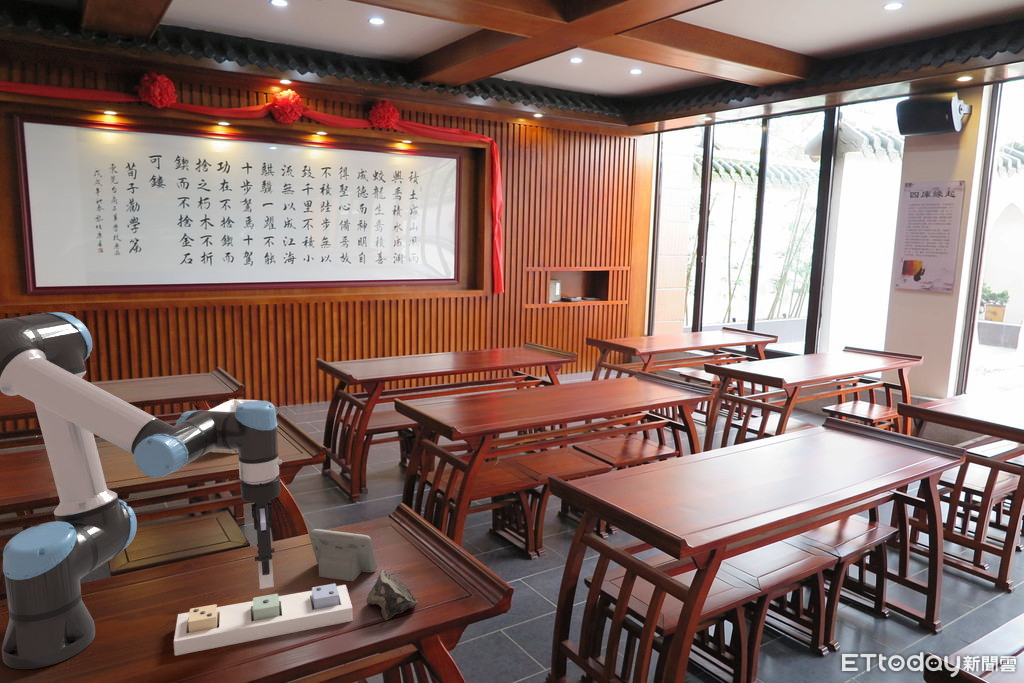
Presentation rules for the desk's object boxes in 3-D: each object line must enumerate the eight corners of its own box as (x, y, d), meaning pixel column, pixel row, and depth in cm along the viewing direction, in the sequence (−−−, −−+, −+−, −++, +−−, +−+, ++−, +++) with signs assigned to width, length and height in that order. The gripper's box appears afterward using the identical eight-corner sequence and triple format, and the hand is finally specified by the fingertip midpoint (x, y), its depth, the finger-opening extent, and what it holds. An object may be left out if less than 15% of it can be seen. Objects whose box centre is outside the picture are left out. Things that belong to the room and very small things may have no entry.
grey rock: (429, 603, 148) (413, 575, 143) (400, 637, 143) (383, 608, 138) (398, 584, 156) (382, 556, 150) (370, 615, 150) (352, 588, 145)
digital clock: (381, 571, 164) (380, 530, 162) (358, 588, 155) (357, 545, 154) (328, 556, 170) (327, 517, 168) (303, 572, 162) (302, 531, 160)
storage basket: (239, 456, 243) (237, 416, 241) (198, 453, 246) (195, 414, 243) (271, 436, 267) (269, 400, 264) (233, 434, 269) (231, 398, 266)
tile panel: (174, 655, 130) (173, 641, 129) (179, 627, 139) (178, 614, 139) (352, 620, 142) (352, 607, 142) (346, 596, 152) (345, 584, 151)
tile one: (254, 626, 137) (253, 609, 137) (253, 613, 142) (252, 597, 141) (279, 621, 139) (279, 605, 139) (278, 608, 144) (277, 592, 143)
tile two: (314, 614, 142) (314, 598, 141) (312, 602, 146) (311, 587, 146) (339, 610, 144) (338, 594, 143) (335, 598, 148) (335, 582, 148)
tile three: (189, 638, 133) (188, 621, 132) (191, 624, 137) (189, 608, 137) (216, 633, 135) (215, 616, 134) (217, 620, 139) (216, 603, 139)
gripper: (281, 486, 131) (287, 598, 135) (278, 465, 143) (283, 568, 147) (240, 492, 128) (247, 605, 132) (240, 469, 140) (247, 574, 144)
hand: (266, 585), depth 139 cm, fingers closed
